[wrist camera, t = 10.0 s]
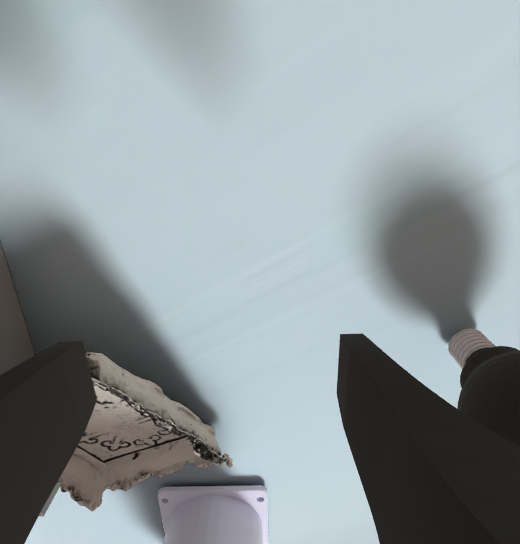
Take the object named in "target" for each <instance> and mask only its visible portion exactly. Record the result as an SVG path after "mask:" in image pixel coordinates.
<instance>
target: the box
mask: <svg viewBox="0 0 520 544" xmlns="http://www.w3.org/2000/svg"><path fill="white" fill-rule="evenodd" d="M33 356H35V352H34V349H33V346H32V342H31V339H30V336H29V333H28V330H27V326H26V323H25V320H24V317H23V313H22V310H21V307H20V304H19V301H18V297H17V294H16V291H15V288H14V284H13V281H12V278H11V275H10V272H9V268H8V265H7V262H6V259H5V255H4V252H3V249H2V246H1V243H0V375H2V374H3V373H5V372H7V371H8V370H10V369H12V368H14V367H15V366H17V365H19V364H21V363H22V362H24V361H26V360H28V359H29V358H31V357H33ZM59 487H60V485H59V484H56V485H55V487H54V489H53V491H52V493H51V494H50V496H49V498H48V500H47V501H46V503H45V505H44V507H43V509H42V510H41V512H40V514H39V516H44V515H45V513H46V511H47V509H48V507H49V506H50V504H51V502H52V500H53V498H54V496H55V495H56V493H57V491H58V489H59Z"/></svg>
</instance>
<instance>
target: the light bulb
mask: <svg viewBox="0 0 520 544" xmlns="http://www.w3.org/2000/svg"><path fill="white" fill-rule="evenodd" d="M448 349H449V353H450V355H451V356H452V357H453V358H454V360H455V361H456V362H457V363H458V364H459V366H460V367H461V368H462V372H461V375H460V384H461V387H462V390H461V393H460V397H459V401H458V410H460V411H461V412H462V413H464V414H466V415H467V416H469V417H470V418H472V419H474V420H475V421H477V422H478V423H480V424H481V425H483V426H485V427H486V428H488V429H489V430H491V431H493V432H494V433H496V434H498V435H499V436H501V437H503V438H505V439H506V440H508V441H510V442H512V443H513V444H515V445H517V446H519V447H520V351H519V350H517V349H515V348H511V347H506V346H497V347H496V346H495V345H494V344H492V342H491V341H489V340H488V339H487V338H486V337H485V336H484V335H483V334H482V333H481V332H480V331H478V330H476V329H465V330H462V331H460V332H458V333H457V334H455V335H454V336H453V337H452V339H451V340H450V343H449V348H448Z"/></svg>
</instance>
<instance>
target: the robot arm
mask: <svg viewBox="0 0 520 544" xmlns="http://www.w3.org/2000/svg"><path fill="white" fill-rule="evenodd" d="M337 397H338V402H339V408H340V413H341V417H342V422H343V427H344V430H345V433H346V437H347V440H348V443H349V446H350V449H351V452H352V455H353V458H354V461H355V464H356V467H357V470H358V473H359V476H360V479H361V482H362V485H363V488H364V491H365V494H366V497H367V500H368V503H369V506H370V509H371V512H372V516H373V519H374V523H375V526H376V530H377V534H378V538H379V542H380V544H520V447H519V446H517V445H515V444H513V443H512V442H510V441H508V440H506V439H505V438H503V437H501V436H499V435H498V434H496V433H494V432H493V431H491V430H489V429H488V428H486V427H485V426H483V425H481V424H480V423H478V422H477V421H475V420H474V419H472V418H470V417H469V416H467V415H466V414H464V413H462V412H461V411H460V410H458V409H457V408H455V407H454V406H452V405H451V404H449V403H448V402H446V401H445V400H444V399H442V398H441V397H440V396H438V395H437V394H435V393H434V392H433V391H431V390H430V389H429V388H427V387H426V386H425V385H423V384H422V383H421V382H419V381H418V380H417V379H416V378H414V377H413V376H412V375H411V374H409V373H408V372H407V371H406V370H404V369H403V368H402V367H401V366H400V365H398V364H397V363H396V362H395V361H394V360H392V359H391V358H390V357H389V356H388V355H387V354H386V353H384V352H383V351H382V350H381V349H380V348H379V347H377V346H376V345H375V344H374V343H373V342H372V341H371V340H369V339H368V338H367V337H366V336H365V335H363V334H340V347H339V364H338V381H337ZM96 402H97V397H96V393H95V389H94V385H93V381H92V378H91V374H90V370H89V366H88V362H87V358H86V354H85V351H84V347H83V343H82V342H60V343H58V344H56V345H53V346H51V347H49V348H47V349H46V350H44V351H42V352H40V353H38V354H36V355H35V356H33V357H31V358H29V359H28V360H26V361H24V362H22V363H21V364H19V365H17V366H15V367H14V368H12V369H10V370H8V371H7V372H5V373H3V374H2V375H0V544H24V543H25V541H26V539H27V537H28V535H29V533H30V531H31V529H32V527H33V525H34V523H35V521H36V519H37V518H38V516H39V514H40V512H41V510H42V509H43V507H44V505H45V503H46V501H47V500H48V498H49V496H50V494H51V493H52V491H53V489H54V487H55V485H56V484H57V482H58V480H59V478H60V476H61V475H62V473H63V471H64V469H65V468H66V466H67V464H68V462H69V460H70V459H71V457H72V455H73V453H74V451H75V449H76V448H77V446H78V444H79V442H80V440H81V438H82V436H83V435H84V432H85V430H86V427H87V425H88V423H89V420H90V418H91V415H92V412H93V410H94V407H95V404H96ZM157 496H158V501H159V507H160V512H161V517H162V522H163V528H164V533H165V538H164V542H163V544H268V505H267V488H266V487H264V486H261V485H252V486H190V487H162V488H160V489H159V491H158V495H157Z"/></svg>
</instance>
